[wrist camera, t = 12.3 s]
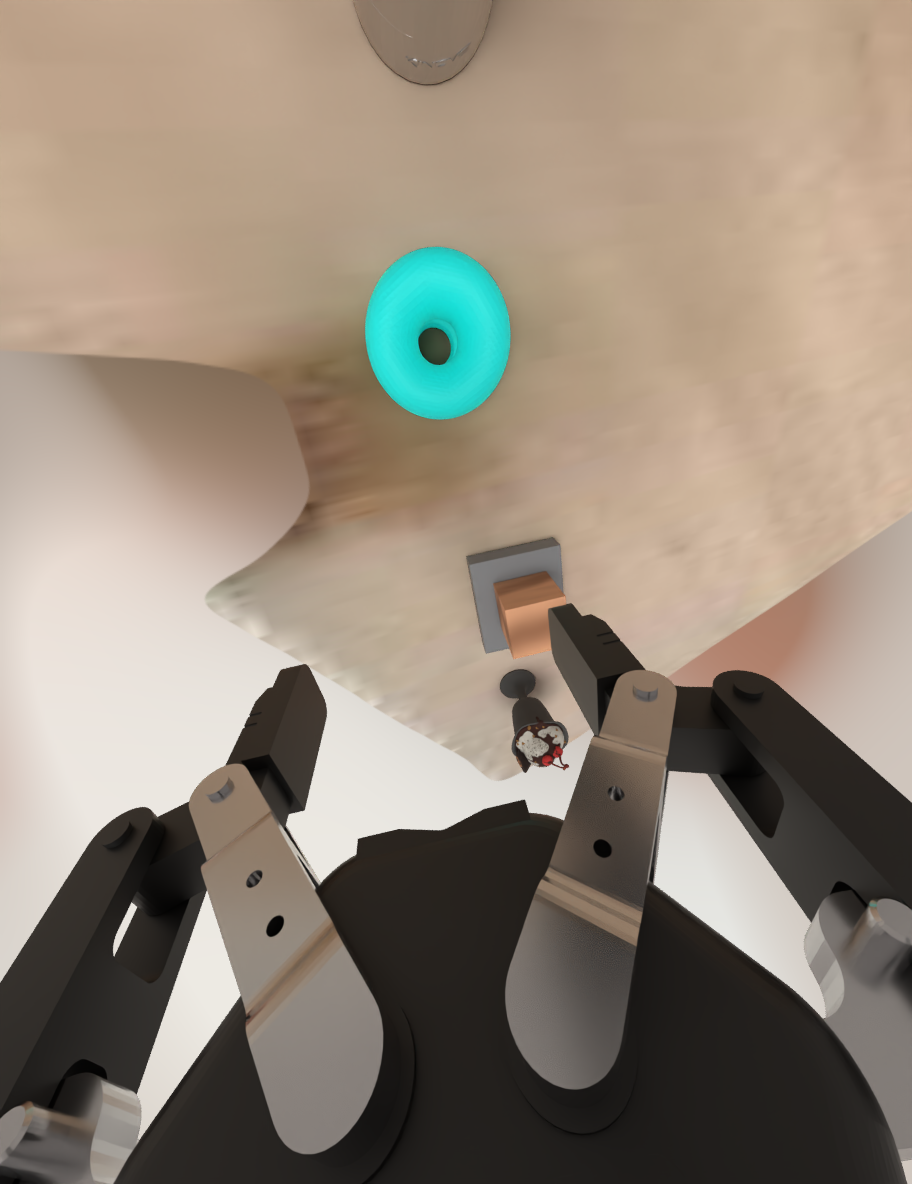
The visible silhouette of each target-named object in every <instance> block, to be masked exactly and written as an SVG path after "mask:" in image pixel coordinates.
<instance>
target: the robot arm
mask: <svg viewBox="0 0 912 1184" xmlns="http://www.w3.org/2000/svg"><path fill="white" fill-rule="evenodd" d="M492 1H493V0H353V2H354V5H355V8H356V11H357V14H358V17H359V20H360V23H361V26H362V28H363V30H364V32H365V34H366V36H367V38H368V40H369V42H370V44H371V45H372V47H373V48H374V49H375V51H376V52H377V54H378V55H379V56H380V58H381V59H382V60H383V61H384V62H385V63H386V64H387V65H388V66H389V67H390V68H391V69H392V70H393V71H394V72H395V73H397V74H399V75H400V76H402V77H404V78H405V79H407V80H409V81H412V82H416V83H420V84H438V83H440V82H443V81H445V80H448V79H450V78H452V77H453V76H454V75H456V74H457V73H458V72H460V71H461V70H462V69H463V68H464V67H465V66H466V65H467V63H468V62H469V61H470V60H471V58H472V57H473V56H474V54H475V52H476V50H477V48H478V46H479V44H480V42H481V40H482V38H483V35H484V32H485V28H486V25H487V22H488V19H489V15H490V10H491V6H492ZM548 620H549V630H550V641H551V649H552V653H553V657H554V660H555V663H556V665H557V667H558V669H559V670H560V672H561V674H562V676H563V678H564V680H565V681H566V683H567V685H568V687H569V689H570V691H571V692H572V694H573V696H574V698H575V700H576V702H577V703H578V705H579V707H580V709H581V711H582V713H583V715H584V716H585V718H586V720H587V722H588V724H589V726H590V727H591V729H592V731H593V733H594V736H593V738H592V740H591V743H590V745H589V748H588V751H587V754H586V757H585V760H584V763H583V766H582V769H581V772H580V775H579V778H578V781H577V784H576V787H575V790H574V793H573V796H572V799H571V802H570V805H569V808H568V811H567V814H566V817H565V820H561V819H559V818H556V817H552V816H549V815H543V814H537V813H529V812H528V808H527V805H526V802H525V800H521V801H516V802H512V803H508V804H504V805H500V806H496V807H491V808H487V809H483V810H482V811H480V812H478V813H476V814H474V815H472V816H470V817H468V818H466V819H464V820H462V821H461V822H458V823H457V824H455V825H453V826H451V827H449V828H447V829H445V830H439V831H438V830H410V829H397V830H393V831H389V832H385V833H381V834H376V835H372V836H368V837H363V838H360V839H358V845H357V854H356V855H355V856H353V857H351V858H350V859H348V860H347V861H345V862H344V863H342V864H341V865H340V866H339V867H337V868H336V869H335V870H334V871H332V873H331V874H329V875H328V876H327V877H326V878H325V879H324V880H323V882H322V883H321V882H320V881H319V879H318V878H317V876H316V874H315V873H314V871H313V869H312V868H311V866H310V864H309V863H308V861H307V859H306V857H305V856H304V854H303V852H302V851H301V849H300V847H299V846H298V844H297V842H296V841H295V839H294V838H293V836H292V834H291V832H290V831H289V829H288V828H287V826H286V822H287V818H288V815H289V814H291V813H295V812H300V811H304V810H305V806H306V802H307V798H308V793H309V789H310V785H311V781H312V776H313V772H314V768H315V764H316V759H317V755H318V751H319V747H320V743H321V738H322V734H323V730H324V726H325V722H326V717H327V708H326V703H325V699H324V697H323V695H322V693H321V691H320V689H319V687H318V685H317V683H316V680H315V678H314V676H313V674H312V672H311V670H310V668H309V667H308V666H307V665H306V664H303V665H299V666H294V667H290V668H286V669H282V670H281V671H280V672H279V674H278V676H277V679H276V681H275V683H274V686H273V687H272V688H268V689H267V690H266V691H265V692H264V693H263V694H262V695H261V696H260V697H259V699H258V700H257V701H256V702H255V704H254V706H253V708H252V711H251V713H250V717H248V719H247V721H246V723H245V728H243V729H242V732H241V734H240V736H239V738H238V740H237V742H236V745H235V746H234V749H233V751H232V753H231V755H230V757H229V759H228V761H227V763H226V766H224V767H221V768H219V769H217V770H216V771H214V772H213V773H211V774H210V775H209V776H207V777H206V778H205V779H204V780H203V781H202V782H201V783H200V784H199V785H198V786H197V787H196V789H195V790H194V792H193V793H192V795H191V797H190V801H189V802H187V803H185V804H183V805H181V806H179V807H177V808H175V809H173V810H171V811H169V812H167V813H165V814H163V815H161V816H159V817H157V816H156V815H155V814H154V813H153V812H152V811H151V810H150V809H149V808H146V807H140V808H135V809H132V810H129V811H127V812H125V813H123V814H121V815H120V816H118V817H116V818H115V819H113V820H112V821H111V822H109V823H108V824H107V825H106V826H105V827H104V828H102V830H100V831H99V832H98V833H97V835H96V836H95V837H94V838H93V839H92V841H91V842H90V843H89V845H88V846H87V848H86V850H85V851H84V853H83V854H82V856H81V857H80V859H79V861H78V862H77V864H76V865H75V867H74V868H73V870H72V871H71V873H70V875H69V876H68V878H67V879H66V881H65V882H64V884H63V886H62V887H61V889H60V890H59V892H58V893H57V895H56V897H55V898H54V900H53V901H52V903H51V904H50V906H49V907H48V909H47V911H46V912H45V914H44V915H43V917H42V918H41V920H40V922H39V923H38V925H37V926H36V928H35V929H34V931H33V933H32V934H31V936H30V937H29V939H28V940H27V942H26V944H25V945H24V947H23V948H22V950H21V951H20V953H19V955H18V956H17V958H16V959H15V961H14V962H13V964H12V965H11V967H10V969H9V970H8V972H7V973H6V975H5V976H4V978H3V980H2V981H1V983H0V1184H907V1181H906V1178H905V1174H904V1170H903V1167H902V1163H901V1161H905V1160H912V803H911V802H910V801H909V800H908V799H907V798H906V797H904V796H903V795H902V794H901V793H900V792H899V791H898V790H897V789H895V788H894V787H893V786H892V785H891V784H890V783H888V781H886V780H885V779H884V778H883V777H882V776H881V775H880V774H878V773H877V772H876V771H875V770H874V769H873V768H872V767H871V766H869V765H868V764H867V763H866V762H865V761H864V760H863V759H861V758H860V757H859V756H858V755H857V754H856V753H855V752H854V751H852V750H851V749H850V748H849V747H848V746H847V745H846V744H844V743H843V742H842V741H841V740H840V739H839V738H838V737H836V736H835V735H834V734H833V733H832V732H831V731H830V730H828V729H827V728H826V727H825V726H824V725H823V724H822V723H821V722H819V721H818V720H817V719H816V718H815V717H814V716H813V715H812V714H810V713H809V712H808V711H807V710H806V709H805V708H804V707H802V706H801V705H800V704H799V703H798V702H797V701H796V700H794V699H793V698H792V697H791V696H790V695H789V694H788V693H787V692H785V691H784V690H783V689H782V688H781V687H780V686H779V685H777V684H776V683H775V682H774V681H772V680H770V679H769V678H767V677H764V676H762V675H759V674H756V673H753V672H747V671H740V670H735V671H727V672H723V673H721V674H719V675H718V676H716V678H715V679H714V681H713V686H712V687H681V686H675V685H674V684H673V683H672V682H671V681H670V680H669V679H668V678H666V677H665V676H663V675H661V674H659V673H656V672H652V671H647V670H645V668H644V667H643V666H642V665H641V664H640V662H639V661H638V660H637V659H636V658H635V657H634V655H633V654H632V653H631V652H630V651H629V649H628V648H627V647H626V646H625V645H624V644H623V642H622V641H620V639H619V638H618V636H617V635H616V634H615V633H613V631H612V629H611V628H610V627H609V626H608V625H607V623H606V622H605V621H603V620H601V619H599V618H597V617H595V616H593V615H592V614H590V615H586V616H581V615H580V613H579V612H578V611H577V609H576V608H575V607H574V605H573V604H571V603H570V604H565V605H561V606H557V607H552V608H549V609H548ZM669 771H678V772H692V773H706V774H708V776H709V777H710V778H711V780H712V781H713V783H714V784H715V786H716V787H717V788H718V790H719V791H720V793H721V794H722V796H723V797H724V798H725V800H726V801H727V803H728V804H729V806H730V807H731V808H732V810H733V811H734V813H735V814H736V816H737V817H738V818H739V820H740V821H741V823H742V824H743V826H744V827H745V829H746V830H747V831H748V832H749V834H750V836H751V837H752V839H753V840H754V841H755V843H756V844H757V846H758V847H759V849H760V850H761V851H762V853H763V854H764V856H765V857H766V858H767V860H768V861H769V863H770V864H771V866H772V867H773V868H774V870H775V871H776V873H777V874H778V876H779V877H780V879H781V880H782V881H783V883H784V884H785V886H786V887H787V889H788V890H789V891H790V893H791V894H792V896H793V897H794V899H795V900H796V901H797V903H798V904H799V906H800V907H801V908H802V910H803V911H804V913H805V914H806V916H807V917H808V918H809V920H810V921H811V924H810V927H809V929H808V930H807V933H806V935H805V939H804V950H805V955H806V959H807V961H808V964H809V967H810V968H811V970H812V972H813V974H814V976H815V978H816V980H817V982H818V984H819V986H820V989H821V991H822V994H823V997H824V1002H825V1007H826V1018H824V1019H822V1018H821V1016H820V1015H819V1014H818V1013H817V1012H816V1011H815V1010H814V1009H813V1008H812V1007H811V1006H810V1005H809V1004H808V1003H807V1002H806V1001H805V1000H804V999H803V998H802V997H801V996H800V995H799V994H797V993H796V992H795V991H794V990H793V989H792V988H790V987H789V986H788V985H787V984H785V983H784V982H782V981H781V980H780V979H779V978H777V977H776V976H774V975H773V974H772V973H771V972H769V971H768V970H767V969H765V968H764V967H763V966H761V965H760V964H759V963H757V962H756V961H755V960H753V959H752V958H751V957H749V956H748V955H747V954H745V953H744V952H743V951H741V950H740V949H739V948H737V947H736V946H735V945H733V944H732V943H731V942H729V941H728V940H727V939H725V938H724V937H723V936H722V935H720V934H719V933H717V932H716V931H715V930H714V929H712V928H711V927H709V926H708V925H707V924H706V923H704V922H703V921H702V920H700V919H699V918H698V917H696V916H695V915H694V914H692V913H691V912H690V911H688V910H687V909H686V908H684V907H683V906H681V905H680V904H679V903H678V902H676V901H675V900H674V899H672V898H671V897H670V896H668V895H667V894H666V893H664V892H663V891H662V890H660V889H659V888H658V887H656V886H655V885H654V878H655V872H656V864H657V856H658V848H659V840H660V832H661V825H662V818H663V810H664V804H665V797H666V789H667V782H668V775H669ZM206 891H208V894H209V897H210V900H211V903H212V907H213V910H214V913H215V916H216V919H217V922H218V925H219V928H220V932H221V935H222V938H223V940H224V944H225V947H226V950H227V953H228V957H229V960H230V963H231V966H232V969H233V972H234V975H235V978H236V981H237V985H238V987H239V991H240V994H241V996H240V998H239V999H238V1000H237V1002H236V1003H235V1005H234V1006H233V1008H232V1009H231V1011H230V1012H229V1014H228V1015H227V1016H226V1017H225V1019H224V1020H223V1022H222V1023H221V1025H220V1026H219V1027H218V1029H217V1030H216V1032H215V1033H214V1035H213V1036H212V1037H211V1039H210V1040H209V1042H208V1043H207V1045H206V1046H205V1047H204V1049H203V1050H202V1052H201V1053H200V1054H199V1056H198V1058H197V1059H196V1060H195V1062H194V1063H193V1065H192V1066H191V1067H190V1069H189V1070H188V1072H187V1073H186V1074H185V1076H184V1077H183V1079H182V1080H181V1082H180V1083H179V1085H178V1086H177V1087H176V1089H175V1090H174V1092H173V1093H172V1095H171V1096H170V1097H169V1099H168V1100H167V1102H166V1103H165V1105H164V1106H163V1108H162V1109H161V1110H160V1112H159V1113H158V1114H157V1116H156V1117H155V1119H154V1120H153V1121H152V1123H151V1124H150V1126H149V1127H148V1129H147V1130H146V1131H145V1133H144V1134H143V1136H142V1137H141V1139H140V1140H139V1139H137V1138H138V1134H139V1129H140V1123H141V1105H140V1101H139V1098H138V1096H137V1092H138V1088H139V1086H140V1083H141V1080H142V1077H143V1074H144V1072H145V1069H146V1066H147V1063H148V1060H149V1057H150V1054H151V1051H152V1048H153V1045H154V1042H155V1039H156V1037H157V1034H158V1031H159V1028H160V1025H161V1022H162V1019H163V1016H164V1013H165V1010H166V1007H167V1005H168V1002H169V999H170V996H171V993H172V990H173V987H174V984H175V981H176V978H177V975H178V972H179V970H180V967H181V964H182V961H183V958H184V955H185V952H186V949H187V946H188V943H189V941H190V937H191V935H192V932H193V929H194V926H195V923H196V920H197V917H198V914H199V911H200V908H201V906H202V903H203V900H204V897H205V894H206ZM131 902H132V903H133V904H135V905H136V906H137V909H136V911H135V913H134V916H133V918H132V920H131V922H130V924H129V927H128V928H127V931H126V933H125V935H124V937H123V939H122V941H121V943H120V946H119V948H118V950H117V952H116V954H115V956H113V943H114V939H115V936H116V933H117V931H118V929H119V927H120V925H121V923H122V921H123V918H124V917H125V915H126V913H127V910H128V908H129V906H130V904H131Z"/></svg>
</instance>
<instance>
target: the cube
mask: <svg viewBox="0 0 912 1184" xmlns="http://www.w3.org/2000/svg"><path fill="white" fill-rule="evenodd" d="M493 586H494V591H495V597H496V602H497V607H498V613H499V618H500V623H501V628H502V631H503V633H504V636H505V639H506V641H507V644H508V646H509V649H510V651H511V654H512V656H513V659H516V658H520V657H525V656H529V655H533V654H537V653H541V652H545V651H549V650H552V649H551V641H550V630H549V620H548V609H549V608H552V607H557V606H561V605H565V604H566V597H565V595H564V594H563V592H562V591H561V590H560V588H559V587H558V586H557V585H556V583H555V582H554V581H553V579H552V578H551V577H550V575H549V574H548V573H547V572H546V571H544V572H540V573H535V574H531V575H527V576H523V577H519V578H515V579H510V580H506V581H502V582H498V583H494V584H493Z"/></svg>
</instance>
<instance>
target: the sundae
mask: <svg viewBox="0 0 912 1184" xmlns="http://www.w3.org/2000/svg"><path fill="white" fill-rule="evenodd" d="M535 681H536V680H535V677H534V675H533V674H532V673H530V672H529V671H526V670H515V671H512V672H510V673H508V674H507V675H506V676H505V677H504V678H503V679H502V681H501V683H500V690H501V692H502V693H503V694H504V695H505V696H507V697H509V698H519V700H518V701H517V702H516V703H515V705H514V707H513V710H512V717H513V726H514V732H515V736H514V739H513V742H512V752H513V754H514V755H515V756H516V759H517V761H518V763H519V765H520V766H521V768H522V770H523V772H525V773H526V772H527V770H528V769H529V767H530V765H531V764H533V765H534V766H538V767H547V766H549V765H551V764H552V765H554V766H557V767H559V768H563V770H565V769H566V768H568V767H569V765H568V764H565V765H564V764H563V763H562V761H561V755H562V753H563V750H562V749H563V748H565V746H566V745H567V743H568V733H567V730H566V728H565V727H564V725H563V724H562V723H560V722H556V721H554V720H553V719H552V717H551V716H550V714H549V712H548V711H547V709H546V708H545V707H544V705H543V704H542V703H541V701H539V700H538V699H536V698H532V697H527V695H528V694H529V693H530V692H531V691H532V690H533V688H534V686H535ZM558 757H559V759H560V762H561V764H562V765H563V766H564V767H560V766H558V765H555V764H553V762H554V760H555V758H558Z"/></svg>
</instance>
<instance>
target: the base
mask: <svg viewBox="0 0 912 1184" xmlns="http://www.w3.org/2000/svg"><path fill="white" fill-rule="evenodd" d="M466 557H467V563H468V568H469V573H470V579H471V584H472V589H473V594H474V600H475V605H476V610H477V616H478V621H479V626H480V632H481V637H482V642H483V645H484V649H485V652H486V653H491V652H495V651H500V650H504V649H509V646H508V644H507V641H506V639H505V636H504V633H503V631H502V628H501V623H500V618H499V613H498V607H497V602H496V597H495V591H494V586H493V584H494V583H498V582H502V581H506V580H510V579H515V578H519V577H523V576H527V575H531V574H535V573H540V572H544V571H546V572H547V573H548V574H549V575H550V577H551V578H552V579H553V581H554V582H555V583H556V585H557V586H558V587H559V588H560V590H561V591H562V592H563V578H562V562H561V547H560V544H559V543H558V542H557V541H556V540H555V539H554V538H549V539H544V540H539V541H535V542H530V543H526V544H521V545H517V546H512V547H507V548H503V549H498V550H494V551H489V552H485V553H480V554H476V555H471V556H466Z"/></svg>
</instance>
